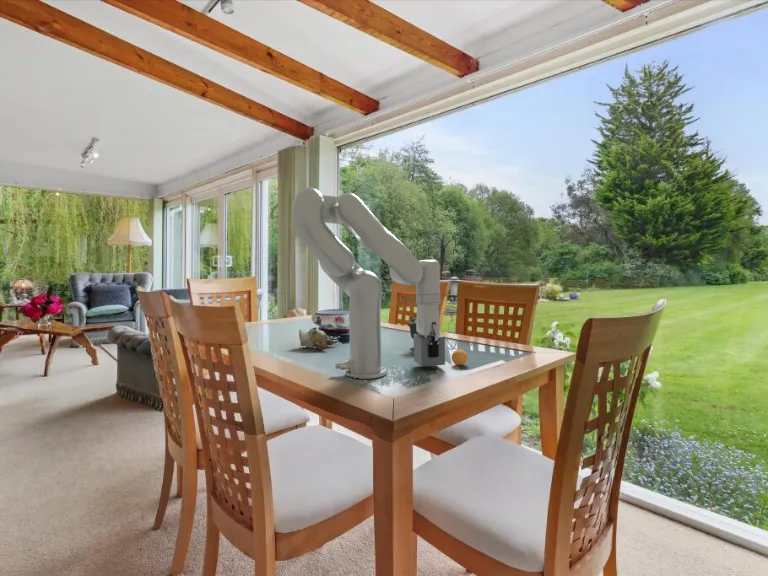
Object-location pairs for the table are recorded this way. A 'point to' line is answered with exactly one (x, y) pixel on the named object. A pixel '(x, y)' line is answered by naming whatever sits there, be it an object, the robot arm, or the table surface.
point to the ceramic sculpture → (315, 339)
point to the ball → (459, 357)
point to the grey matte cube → (422, 351)
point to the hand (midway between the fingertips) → (429, 353)
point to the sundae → (413, 327)
